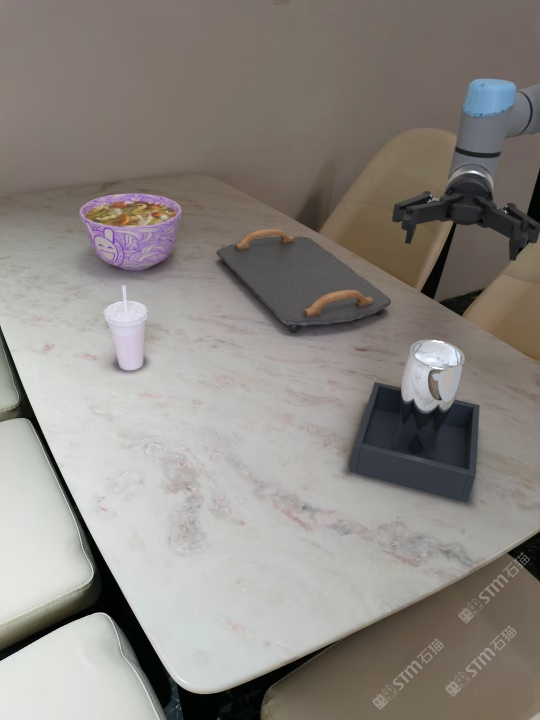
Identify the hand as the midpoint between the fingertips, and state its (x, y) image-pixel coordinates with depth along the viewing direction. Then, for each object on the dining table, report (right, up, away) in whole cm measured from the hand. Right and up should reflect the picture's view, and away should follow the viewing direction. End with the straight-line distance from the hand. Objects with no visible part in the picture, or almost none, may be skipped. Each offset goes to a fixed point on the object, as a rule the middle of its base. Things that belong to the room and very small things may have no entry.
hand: (461, 242), depth 78 cm
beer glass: (-6, -27, +2) cm, 28 cm away
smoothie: (-47, -16, +16) cm, 52 cm away
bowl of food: (-54, +5, +47) cm, 72 cm away
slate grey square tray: (-6, -28, +2) cm, 28 cm away
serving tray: (-20, -1, +42) cm, 46 cm away
